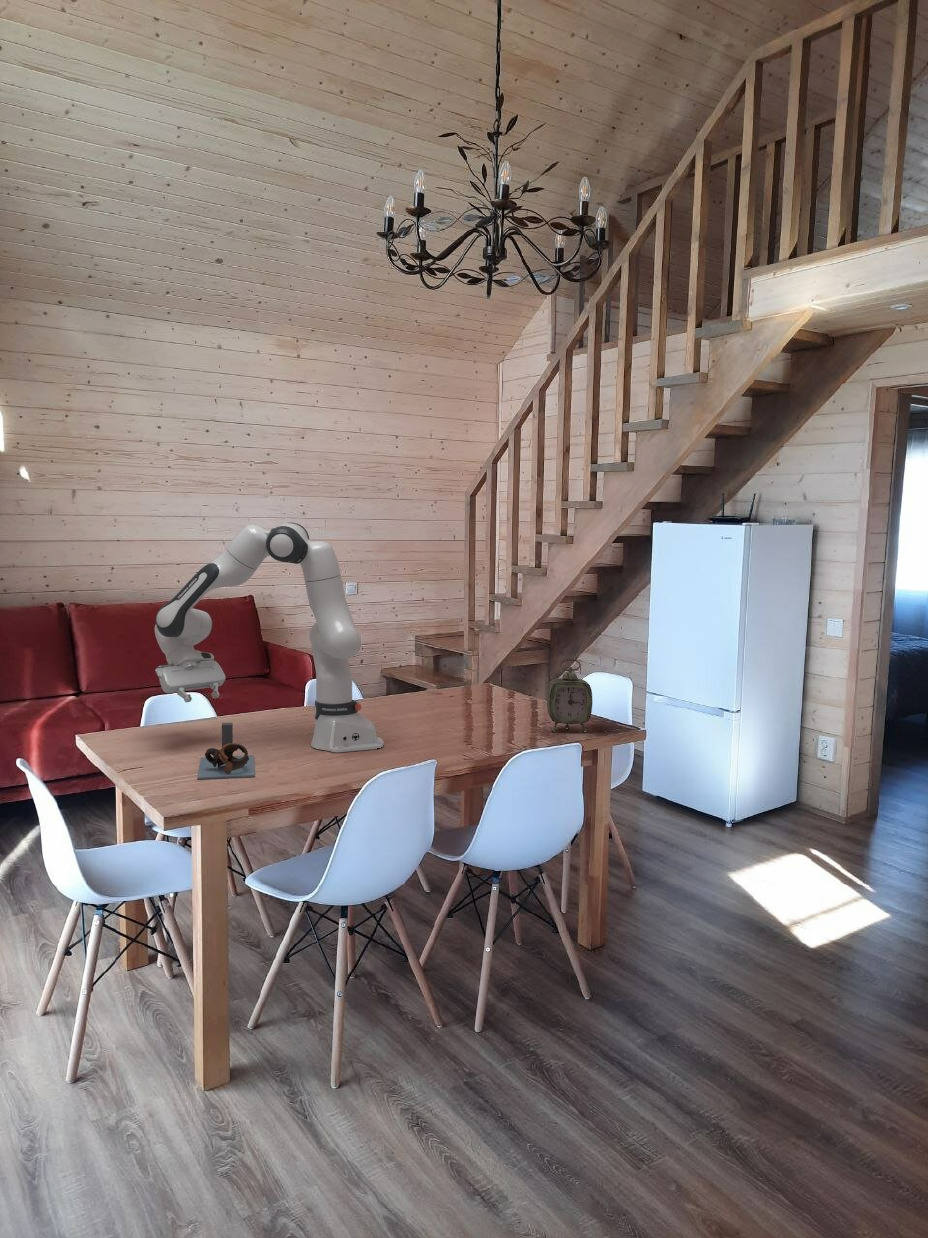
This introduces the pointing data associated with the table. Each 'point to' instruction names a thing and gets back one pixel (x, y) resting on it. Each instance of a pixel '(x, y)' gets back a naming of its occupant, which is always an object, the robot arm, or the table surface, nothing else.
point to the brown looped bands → (227, 757)
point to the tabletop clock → (569, 699)
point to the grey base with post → (218, 772)
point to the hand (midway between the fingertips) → (202, 699)
